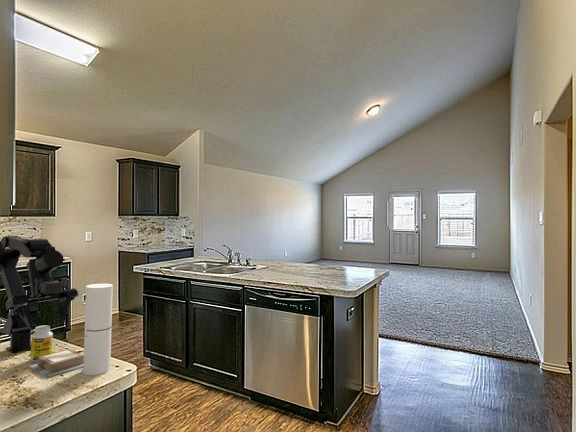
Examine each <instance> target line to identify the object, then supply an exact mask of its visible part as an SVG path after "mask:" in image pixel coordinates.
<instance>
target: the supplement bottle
mask: <svg viewBox="0 0 576 432" xmlns="http://www.w3.org/2000/svg"><path fill="white" fill-rule="evenodd" d="M53 338H54V333H53V332H52V331H51V326H50V325H39V326H38V327H36V328H35V329H34V333H33V334H31V349H30V361H31V362H33V363H37V361H38V357H40V356H44V355H48V354H52V353H53V340H54V339H53Z"/></svg>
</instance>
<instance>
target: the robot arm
mask: <svg viewBox="0 0 576 432" xmlns="http://www.w3.org/2000/svg"><path fill="white" fill-rule="evenodd" d="M21 256H22V257H24V258H26V259H27V258H30V259H29V260H28V262H27V263H26V265H25V268H27V269H28V277H29V283H28V287H30V288H31V295H30V296H28V295H27V294H26V293H25V288H24V286H23V284H22V281H21V278H20V275H19V272H18V268H17V265H18V262H19V260H20V257H21ZM63 263H64V256H63V254H62V253H61V252H60V251H59V250H56V248H55V246H53V245H52V244H51V242H49V240H48V239H47V238H39V239H35V238H34V239H33V238H31V239H29V238H25V237H21V236H18V235H5V236H2V237H1V240H0V277H1V280H2V283H3V287H4V289H5V293H6V296H7V300H6V302H5V310H6V311H9V312H8V314H7V318H6V320H5V322H4V324H3V326H2V328H3V333H5V334H6V335H8V336H9V335H10V338H9V339H10V340H9V341H10V342H9V344H10V345H9V347H5V350H6V351H8V352H9V353H11V354H17V353H20V352H21V353H22V352H26V351H31V342H32V331H33V330H34V331H35V328H36V327H38V326H40V321H41V313H40V311H39V309H38V307H37V303H42V302H47V301H48V302H49V301H55V300H58V301H59V302H57V308H58V312H59V316H60V317H59V318H60V321H61V323H62V324H64V323H66V319H67V313H68V310H69V306H70V304H71V302H72V301H73V300H75V298H77V297H79V296H80V295H79V291H78V290H77V288H75V287H74V288H68V287H69V283H68V278H67V277H59V278H58V279H57V280H55V278H54V276H52V273H51V272H52V271H54V270H56V269H57V268H59V267H60V266H62V265H63Z"/></svg>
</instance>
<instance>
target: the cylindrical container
mask: <svg viewBox="0 0 576 432" xmlns="http://www.w3.org/2000/svg"><path fill="white" fill-rule="evenodd" d="M113 287H114V285H113V284H111V283H92V284H87V285H86V286H85V306H84V311H85V313H84V336H83V338H84V339H83V344H84V345H83V355H84V365H83V369H82V371H83V374H84V375H87V376H97V375H101V374H102V373H103V374H106V373H107V372H109V371H110V370H111V358H112V357H111V354H112V325H113V324H112V323H113V322H112V321H113V297H114V296H113V293H114V290H113V289H114V288H113ZM103 374H102V375H103Z"/></svg>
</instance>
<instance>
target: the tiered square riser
mask: <svg viewBox="0 0 576 432" xmlns="http://www.w3.org/2000/svg"><path fill="white" fill-rule="evenodd" d="M83 365H84V354H81V353H80V352H77V351H75V350H72V349H69V348H68V349H64V350H60V351H55V352H52V354H48V355H44V356H40V357H38V361H37V362H36V363H35V364H32V365H29V369H30V370H33V371H35V372H37V373H38V374H41V375H42V376H44V377H46V378H48V379H50V378H53V377H56V376H60V375H63V374H66V373H70V372H73V371H76V370H79V369H82V368H83Z"/></svg>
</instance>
